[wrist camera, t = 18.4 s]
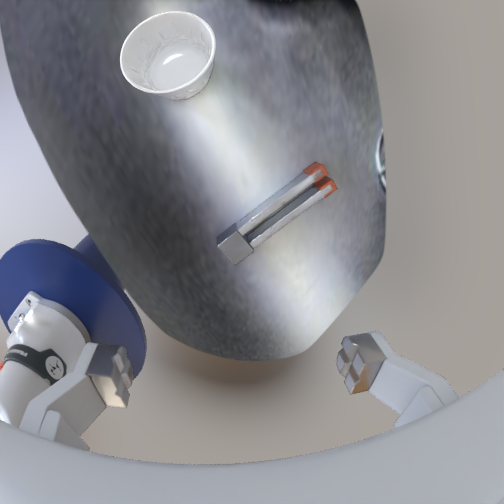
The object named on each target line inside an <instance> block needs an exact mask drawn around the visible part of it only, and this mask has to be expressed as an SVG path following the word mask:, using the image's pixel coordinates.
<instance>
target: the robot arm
mask: <svg viewBox="0 0 504 504" xmlns="http://www.w3.org/2000/svg"><path fill="white" fill-rule="evenodd" d="M8 326H9V328H10V330H11V332H12V333H11V334H10V336H9V337H8V339H7V342H6V343H7V347H8V349H9V350H8V352H7V353H6V356H5V360H4V361H3V362H2V363H1V364H0V370H1V371H0V504H504V369H502V370H501V371H499V372H498V373H497V374H495V375H494V376H492V377H491V378H490V379H488V380H486V381H485V382H484V383H482V384H481V385H479V386H477V387H476V388H474V389H473V390H471V391H469V392H468V393H466V394H464V395H463V396H461V397H458V395H457V394H456V392H455V391H454V390H453V388H452V387H451V386H450V384H449V383H448V382H447V381H446V379H445V378H444V377H443V376H441V375H439V374H437V373H435V372H433V371H431V370H429V369H427V368H425V367H423V366H421V365H419V364H417V363H415V362H413V361H411V360H409V359H407V358H405V357H403V356H398V355H397V354H396V353H395V351H394V350H393V348H392V347H391V346H390V344H389V343H388V342H387V340H386V339H385V337H384V336H383V335H382V333H381V332H379V331H373V332H368V333H363V334H357V335H351V336H345V337H344V338H343V340H342V343H341V344H342V346H343V349H341V350H340V351H339V353H338V356H337V367H338V371H339V373H340V374H341V375H342V376H344V377H345V381H344V383H345V385H346V387H347V389H348V391H349V393H350V395H351V394H355V393H360V392H364V391H369V392H370V393H371V394H373V395H374V396H375V397H377V398H378V399H379V400H381V401H382V402H383V403H385V404H386V405H387V406H389V407H390V408H391V409H393V410H394V411H395V412H397V413H398V414H399V415H400V416H399V418H398V419H397V420H396V421H395V423H394V425H393V426H394V428H395V429H392V430H390V431H387V432H384V433H381V434H379V435H376V436H373V437H370V438H367V439H364V440H361V441H358V442H354V443H351V444H347V445H343V446H340V447H336V448H332V449H329V450H324V451H320V452H315V453H310V454H305V455H300V456H295V457H289V458H282V459H275V460H268V461H259V462H249V463H235V464H173V463H158V462H149V461H141V460H133V459H126V458H120V457H114V456H108V455H104V454H99V453H95V452H90V451H89V449H90V448H89V446H88V445H87V444H86V442H85V441H84V440H83V439H82V438H81V437H80V436H81V435H82V433H83V432H84V431H85V430H86V429H87V428H88V427H89V426H90V425H91V424H92V423H93V422H94V421H95V419H96V418H97V417H98V416H99V415H100V414H101V413H102V412H103V410H105V408H106V406H109V407H119V408H127V405H128V400H129V396H130V394H129V392H128V390H127V389H128V388H129V387H130V386H131V385H132V381H133V369H132V365H131V362H130V361H129V360H128V359H126V357H127V354H128V353H127V351H126V348H125V347H124V346H118V345H108V344H97V343H91V339H90V335H89V333H88V331H87V329H86V328H85V326H84V325H83V323H82V322H81V321H80V320H79V318H78V317H77V316H76V315H75V314H73V313H72V312H71V311H70V310H69V309H67V308H66V307H64V306H63V305H61V304H59V303H57V302H54V301H51V300H47V299H44V298H42V297H41V296H40V295H38V294H37V293H35V292H33V291H30V292H29V293H28V294H27V295H26V297H25V298H24V299H23V300H22V302H21V303H20V305H19V306H18V307H17V309H16V310H15V311H14V313H13V314H12V316H11V317H10V319H9V320H8Z"/></svg>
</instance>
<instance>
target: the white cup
mask: <svg viewBox="0 0 504 504" xmlns="http://www.w3.org/2000/svg"><path fill="white" fill-rule="evenodd" d="M215 50H216V40H215V36H214V33H213V31H212V29H211V27H210V26H209V25H208V24H207V22H205V21H204V20H203V19H202V18H200V17H198V16H197V15H194V14H192V13H188V12H183V11H170V12H164V13H160V14H157V15H154V16H152V17H150V18H148V19H146V20H145V21H143V22H142V23H140V24H139V25H138V26H137V27H136V28H134V29H133V31H132V32H131V33H130V34H129V36H128V37H127V39H126V40H125V42H124V44H123V47H122V50H121V55H120V64H121V69H122V72H123V74H124V76H125V78H126V79H127V80H128V82H129V83H130V84H132V85H133V86H134V87H136V88H138V89H140V90H142V91H145V92H148V93H151V94H153V95H156V96H160V97H164V98H168V99H173V100H178V99H188V98H190V97H192V96H194V95H196V94H198V93H200V91H201V90H202V89H203V88H204V87H205V86H206V84H207V83H208V81H209V77H210V75H211V73H212V68H213V64H214V57H215Z"/></svg>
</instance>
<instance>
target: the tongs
mask: <svg viewBox="0 0 504 504" xmlns="http://www.w3.org/2000/svg"><path fill="white" fill-rule="evenodd" d="M327 174H328V172H327V170H326V169H325V167H324V166H323V164H320V163H317V162H315V163H313V164H312V165H311V166H309V167H308V168H306V169H305V170H304V173H302V174H301V175H299V176H298V177H297V178H295V179H294V180H293V181H291V182H290V183H289V184H287V185H286V186H285V187H283V188H282V189H281V190H279V191H278V192H276V193H275V194H274V195H272V196H271V197H270V198H269V199H267V200H266V201H265V202H263V203H262V204H261V205H259V206H258V207H257V208H255V209H254V210H253V211H251V212H250V213H249V214H247V215H246V216H245V217H244V218H242V219H241V220H240V221H238V222H237V223H235V224H233V225H232V226H231V227H229V228H228V229H227V230H226V231H224V232H223V233H222V234H220V235H219V236H218V237H217V247H218V248H219V249H220V250H221V251H222V252H223V253H224V255H225V256H226V257H227V258H228V259H229V260H230V261H231V262H232V263H233V264H234V265H237V264H238V263H239V262H241V261H242V260H243V259H245V258H246V257H247V256H249V255H250V254H251V253H253V252H254V248H256V247H257V246H258V245H260V244H261V243H262V242H264V241H265V240H266V239H268V238H269V237H271V236H272V235H273V234H275V233H276V232H277V231H279V230H280V229H281V228H283V227H284V226H285V225H287V224H288V223H289V222H291V221H292V220H293V219H295V218H296V217H297V216H299V215H300V214H301V213H303V212H304V211H305V210H307V209H308V208H309V207H311V206H312V205H313V204H315V203H316V202H318V201H319V200H320V199H322V198H323V197H325V198H326V197H327V196H328V195H330V194H331V193H332V192H334V191H335V190H336V189H338V188H337V186H336V185H335V183H334V181H333V180H332V179H330V178H328V177H326V175H327ZM312 183H315V184H313V187H312V188H310V189H309V190H308V191H306V192H305V193H304V194H302V195H301V196H300V197H298V198H297V199H296V200H294V201H293V202H292V203H290V204H289V205H287V206H286V207H285V208H283V209H282V210H281V211H279V212H278V213H277V214H275V215H274V216H273V217H271V218H270V219H269V220H267V221H266V222H265V223H263V224H262V225H261V226H260V227H258V228H257V229H256V230H254V231H253V232H252V233H250V234H249V235H248V236H246V235H245V234H246V233H247V232H248V231H250V230H251V229H252V228H254V227H255V226H256V225H258V224H259V223H260V222H262V221H263V220H264V219H266V218H267V217H268V216H269V215H271V214H272V213H273V212H275V211H276V210H277V209H279V208H280V207H281V206H283V205H284V204H286V203H287V202H288V201H290V200H291V199H292V198H294V197H295V196H296V195H298V194H299V193H300V192H302V191H303V190H304V189H306V188H307V187H308V186H310V185H311V184H312Z"/></svg>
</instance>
